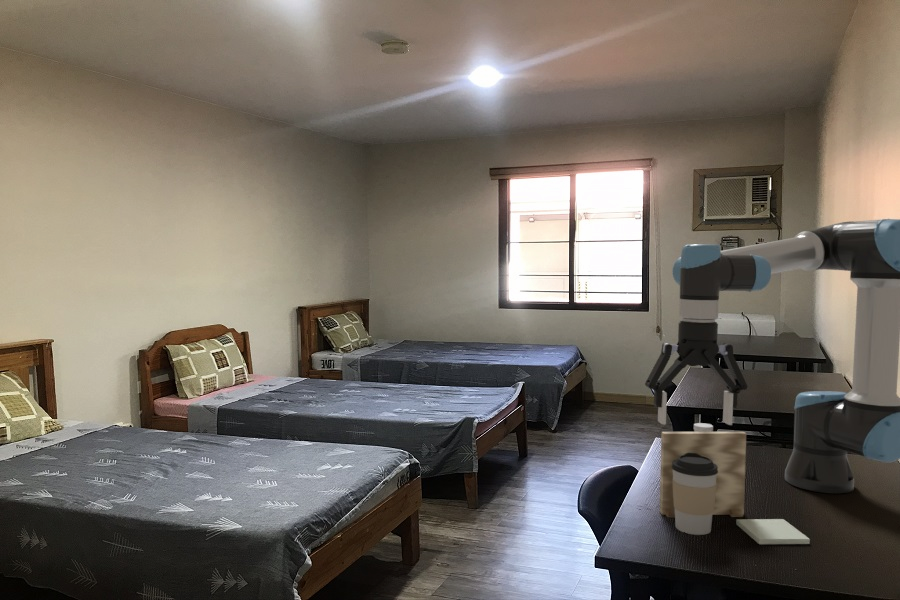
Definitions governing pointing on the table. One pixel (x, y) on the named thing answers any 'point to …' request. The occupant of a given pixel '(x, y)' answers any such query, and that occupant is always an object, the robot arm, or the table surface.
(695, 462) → the coffee cup
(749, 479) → the table surface
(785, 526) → the mat
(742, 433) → the screen
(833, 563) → the table surface
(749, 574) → the table surface
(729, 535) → the table surface
